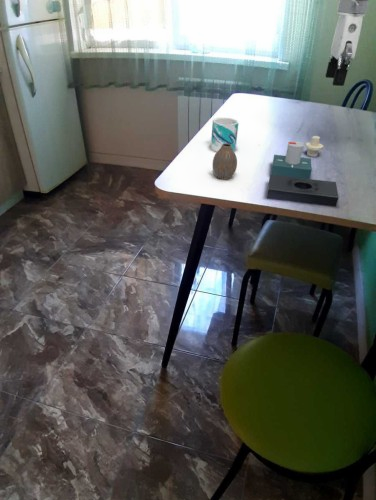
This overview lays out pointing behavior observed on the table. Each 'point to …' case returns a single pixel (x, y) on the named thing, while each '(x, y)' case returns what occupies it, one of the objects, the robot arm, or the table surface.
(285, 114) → the table surface
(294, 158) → the tap knob
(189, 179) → the table surface
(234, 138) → the mug
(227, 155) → the vase
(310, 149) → the stopper
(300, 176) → the panel
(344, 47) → the robot arm
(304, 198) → the black plate with hole
